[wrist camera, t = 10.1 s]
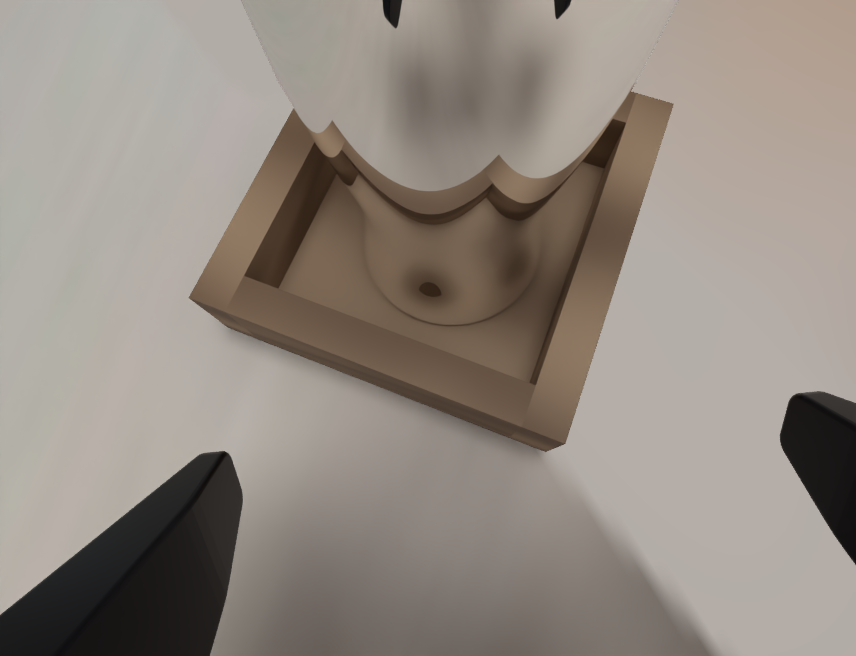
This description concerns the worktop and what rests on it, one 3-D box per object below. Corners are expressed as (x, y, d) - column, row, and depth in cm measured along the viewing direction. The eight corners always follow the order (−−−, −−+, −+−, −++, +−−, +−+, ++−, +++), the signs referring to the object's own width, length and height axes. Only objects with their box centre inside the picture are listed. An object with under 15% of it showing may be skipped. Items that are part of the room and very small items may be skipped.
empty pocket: (545, 452, 17) (565, 443, 14) (227, 326, 18) (188, 297, 16) (641, 158, 20) (673, 104, 17) (360, 72, 21) (348, 9, 19)
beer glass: (514, 136, 20) (692, -798, 5) (582, 306, 18) (1148, -467, 3) (332, 185, 19) (9, -676, 5) (380, 365, 17) (70, -226, 3)
